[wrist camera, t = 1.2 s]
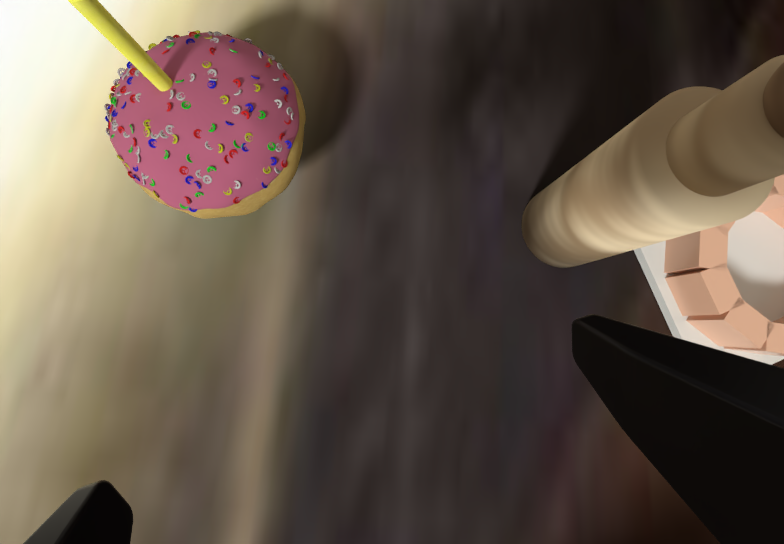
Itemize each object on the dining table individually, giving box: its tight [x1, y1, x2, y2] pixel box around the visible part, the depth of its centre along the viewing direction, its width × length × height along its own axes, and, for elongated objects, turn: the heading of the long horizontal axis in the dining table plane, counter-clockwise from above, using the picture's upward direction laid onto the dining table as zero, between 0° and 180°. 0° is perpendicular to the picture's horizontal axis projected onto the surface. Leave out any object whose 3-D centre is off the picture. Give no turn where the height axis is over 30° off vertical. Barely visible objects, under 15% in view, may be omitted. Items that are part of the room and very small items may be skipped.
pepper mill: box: [522, 55, 784, 268], centre depth 17 cm, size 5×5×16 cm
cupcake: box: [68, 0, 306, 218], centre depth 18 cm, size 9×8×12 cm
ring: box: [634, 174, 784, 365], centre depth 23 cm, size 11×11×3 cm
